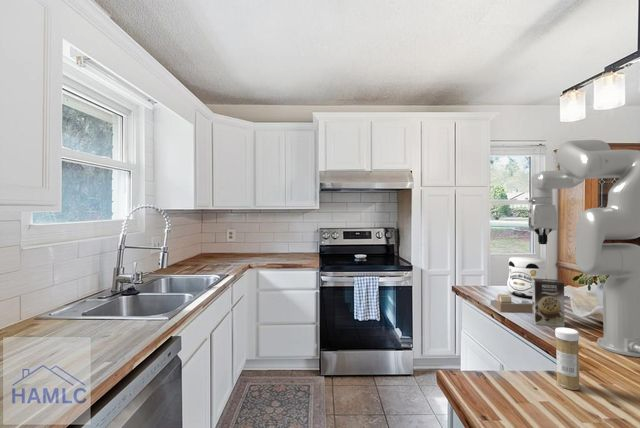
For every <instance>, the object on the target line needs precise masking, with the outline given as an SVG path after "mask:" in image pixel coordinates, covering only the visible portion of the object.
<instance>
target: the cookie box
mask: <svg viewBox="0 0 640 428" xmlns="http://www.w3.org/2000/svg"><path fill="white" fill-rule="evenodd" d="M531 302H532V303H531V304H532V313H531V314H532V315H531V316H532V317H531V318H532V321H533V323H534V324H535V325H539V326H548V327H556V328H559V327H564V328H565V282H563V281H562V280H560V279H554V278H553V279H551V278H549V279H548V278H546V279H537V278H532V301H531Z"/></svg>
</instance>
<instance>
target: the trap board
mask: <svg viewBox="0 0 640 428" xmlns="http://www.w3.org/2000/svg"><path fill="white" fill-rule="evenodd" d="M490 306H491V307H493V308H494V309H496V310H497V311H498V312H499V313H518V314H519V313H520V314H523V313H524V314H525V313H526V314H532V303H531V302H529V301H528V300H521V303H515V302H514V301H512V300H511V304H505V303H500V302H499V301H498V299H494V300H490Z"/></svg>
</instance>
